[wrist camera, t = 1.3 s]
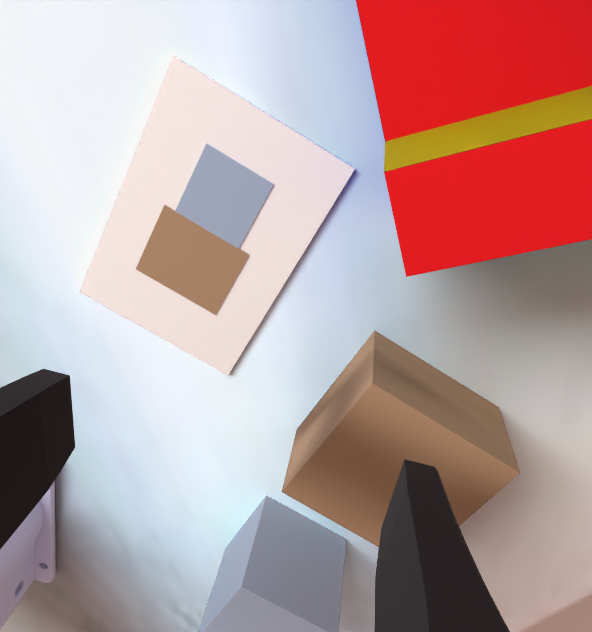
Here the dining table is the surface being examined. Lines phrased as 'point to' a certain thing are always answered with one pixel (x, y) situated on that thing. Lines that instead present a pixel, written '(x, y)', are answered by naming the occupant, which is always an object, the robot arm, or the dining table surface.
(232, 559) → the slate brick
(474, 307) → the dining table surface
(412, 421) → the walnut brick
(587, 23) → the building blocks toy
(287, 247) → the page
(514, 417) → the dining table surface
